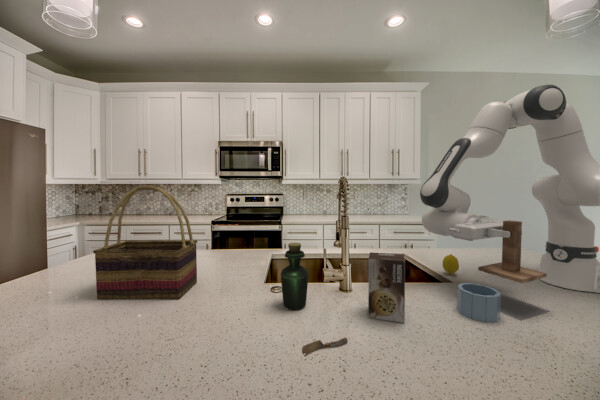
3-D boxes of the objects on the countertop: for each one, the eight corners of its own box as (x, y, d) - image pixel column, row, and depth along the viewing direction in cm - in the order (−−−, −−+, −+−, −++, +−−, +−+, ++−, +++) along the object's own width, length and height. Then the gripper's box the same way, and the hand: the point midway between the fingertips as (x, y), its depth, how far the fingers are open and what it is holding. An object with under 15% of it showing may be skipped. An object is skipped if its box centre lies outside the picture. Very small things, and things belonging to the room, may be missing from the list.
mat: (497, 294, 81) (497, 292, 81) (549, 313, 68) (550, 311, 68) (470, 300, 76) (470, 299, 76) (520, 322, 64) (520, 320, 64)
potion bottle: (292, 296, 79) (291, 239, 78) (314, 303, 74) (314, 243, 73) (274, 306, 72) (274, 244, 71) (297, 315, 67) (297, 249, 66)
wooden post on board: (501, 265, 79) (503, 217, 78) (546, 276, 69) (548, 222, 68) (478, 270, 75) (479, 220, 74) (521, 283, 65) (523, 225, 64)
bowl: (471, 304, 73) (472, 281, 73) (507, 320, 65) (509, 293, 64) (449, 309, 70) (450, 285, 70) (484, 327, 61) (485, 299, 61)
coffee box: (403, 312, 69) (404, 254, 68) (404, 324, 63) (406, 260, 62) (369, 306, 72) (369, 251, 71) (367, 317, 66) (368, 257, 65)
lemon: (461, 277, 95) (461, 256, 95) (445, 276, 97) (445, 255, 96) (455, 272, 101) (455, 252, 100) (440, 271, 102) (440, 252, 102)
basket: (92, 300, 76) (87, 185, 74) (126, 282, 90) (122, 185, 89) (180, 300, 76) (177, 185, 74) (199, 282, 91) (197, 185, 89)
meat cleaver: (294, 344, 56) (296, 361, 51) (294, 339, 56) (296, 355, 51) (345, 339, 57) (352, 354, 52) (345, 334, 57) (352, 349, 52)
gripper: (444, 219, 79) (491, 225, 66) (487, 215, 87) (537, 220, 74) (444, 239, 79) (491, 249, 67) (486, 233, 87) (536, 241, 74)
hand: (515, 234), depth 70 cm, fingers closed on wooden post on board, 3 cm apart
